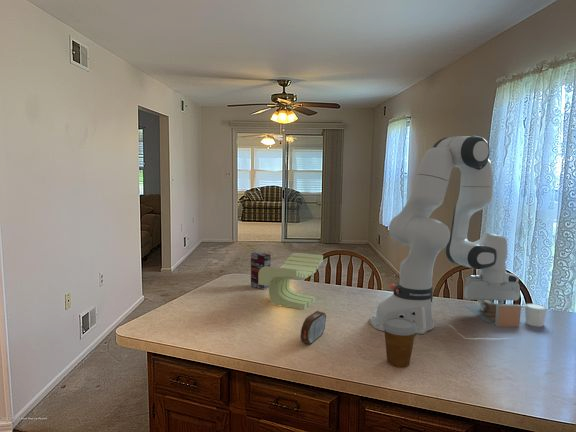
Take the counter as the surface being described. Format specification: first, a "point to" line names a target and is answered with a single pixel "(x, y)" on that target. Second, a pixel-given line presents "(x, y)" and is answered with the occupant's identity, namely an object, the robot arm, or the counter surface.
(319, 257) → the slatted curved stool
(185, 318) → the counter surface
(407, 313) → the robot arm
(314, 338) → the tin
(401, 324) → the disposable coffee cup
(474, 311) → the tool rest mat
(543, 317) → the white cup
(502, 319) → the tile
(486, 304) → the tan stepped block
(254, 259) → the supplement box
